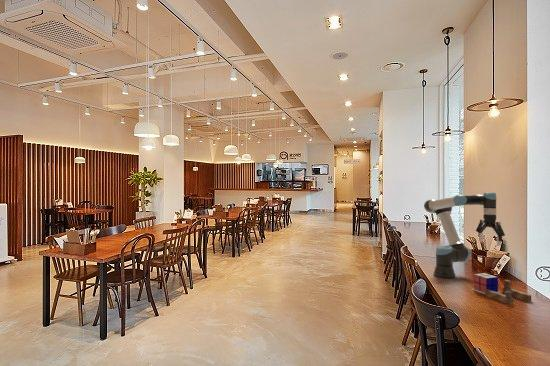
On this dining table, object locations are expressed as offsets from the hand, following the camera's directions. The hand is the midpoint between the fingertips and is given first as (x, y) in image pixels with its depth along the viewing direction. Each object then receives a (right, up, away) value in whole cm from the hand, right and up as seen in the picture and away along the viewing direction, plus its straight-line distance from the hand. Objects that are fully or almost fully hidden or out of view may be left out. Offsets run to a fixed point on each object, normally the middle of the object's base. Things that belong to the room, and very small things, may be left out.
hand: (489, 243), depth 218 cm
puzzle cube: (-10, -30, -10) cm, 33 cm away
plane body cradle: (-5, -31, -23) cm, 39 cm away
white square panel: (-10, -31, -10) cm, 34 cm away
